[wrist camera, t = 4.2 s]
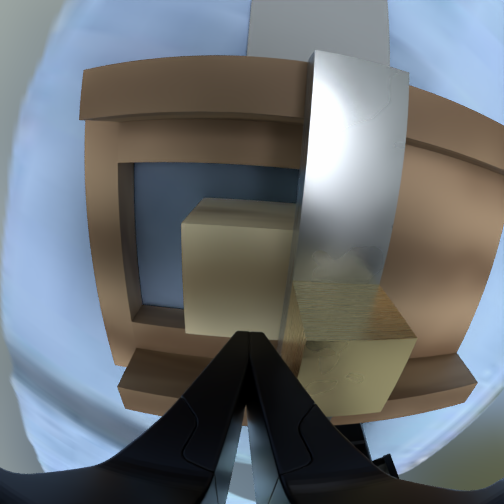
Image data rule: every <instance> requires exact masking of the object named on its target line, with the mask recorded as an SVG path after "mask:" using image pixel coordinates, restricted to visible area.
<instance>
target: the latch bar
mask: <svg viewBox="0 0 504 504" xmlns="http://www.w3.org/2000/svg"><path fill="white" fill-rule="evenodd" d="M408 101H409V73H408V72H405V71H402V70H399V69H396V68H393V67H389V66H386V65H382V64H379V63H375V62H371V61H367V60H363V59H359V58H355V57H350V56H346V55H341V54H336V53H331V52H325V51H320V50H314V52H313V53H312V55H311V56H310V58H309V59H308V68H307V84H306V99H305V112H304V125H303V137H302V149H301V160H300V170H299V180H298V190H297V199H296V209H295V218H294V226H293V235H292V243H291V251H290V259H289V267H288V275H287V282H286V289H285V297H284V304H283V311H282V317H281V324H280V331H279V337H278V344H277V352H278V353H279V355H280V356H281V357H282V359H283V360H284V361H285V363H286V364H287V365H288V367H289V368H290V370H291V371H292V372H293V374H294V375H295V376H296V378H297V379H298V380H299V382H300V383H301V384H302V386H303V387H304V388H305V390H306V391H307V392H308V394H309V395H310V396H311V398H312V399H313V400H314V402H315V404H317V405H318V407H319V408H320V409H321V411H322V412H323V413H324V414H325V416H326V417H327V418H328V419H329V420H331V418H332V417H333V416H347V415H358V414H367V413H376V412H381V410H382V409H383V407H384V405H385V403H386V402H387V400H388V398H389V396H390V394H391V392H392V391H393V389H394V387H395V385H396V383H397V381H398V379H399V377H400V375H401V373H402V371H403V369H404V367H405V365H406V363H407V361H408V359H409V356H410V354H411V352H412V350H413V348H414V345H415V343H416V341H417V339H418V338H417V337H416V335H415V334H414V332H413V331H412V329H411V328H410V326H409V325H408V324H407V322H406V321H405V319H404V318H403V316H402V315H401V314H400V312H399V311H398V309H397V308H396V307H395V305H394V304H393V303H392V301H391V300H390V298H389V297H388V296H387V294H386V293H385V292H384V290H383V289H382V288H381V286H380V285H379V284H380V280H381V276H382V272H383V268H384V264H385V260H386V256H387V252H388V247H389V243H390V238H391V234H392V229H393V224H394V219H395V213H396V208H397V202H398V196H399V190H400V183H401V176H402V169H403V161H404V152H405V143H406V132H407V119H408Z"/></svg>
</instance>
